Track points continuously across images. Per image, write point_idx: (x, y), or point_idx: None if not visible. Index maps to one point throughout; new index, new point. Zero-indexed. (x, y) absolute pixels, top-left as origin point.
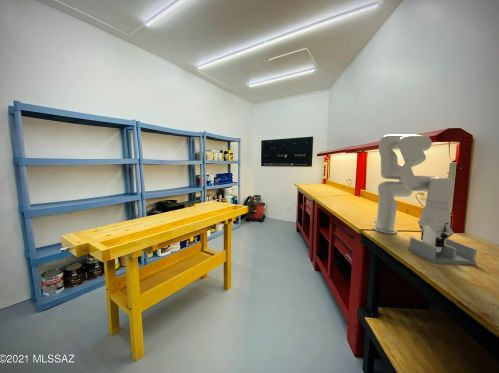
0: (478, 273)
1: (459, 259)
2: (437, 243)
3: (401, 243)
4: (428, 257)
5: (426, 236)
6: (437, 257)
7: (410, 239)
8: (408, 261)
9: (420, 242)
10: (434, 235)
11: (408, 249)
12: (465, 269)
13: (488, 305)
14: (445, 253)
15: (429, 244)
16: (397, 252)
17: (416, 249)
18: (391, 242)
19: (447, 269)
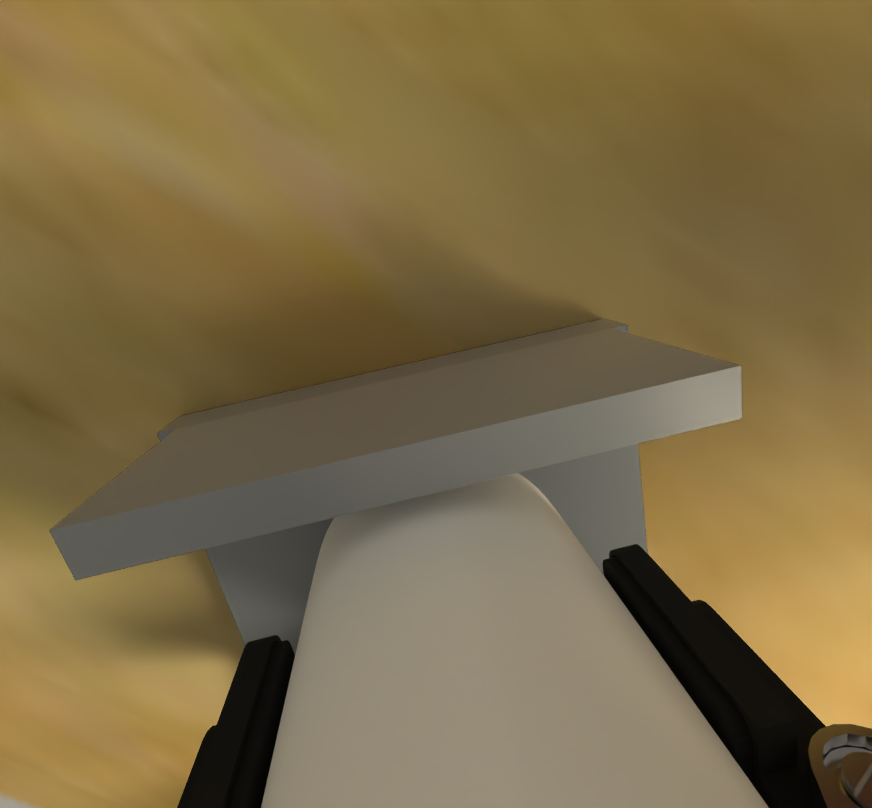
0: (102, 745)
1: None
2: (226, 717)
3: (826, 345)
4: (248, 412)
5: (414, 661)
6: (288, 538)
7: (696, 354)
8: (74, 27)
9: (433, 433)
10: None
11: (599, 321)
12: (156, 683)
13: None
14: None
15: (342, 564)
16: (437, 41)
17: (474, 366)
18: (862, 190)
19: (44, 493)
